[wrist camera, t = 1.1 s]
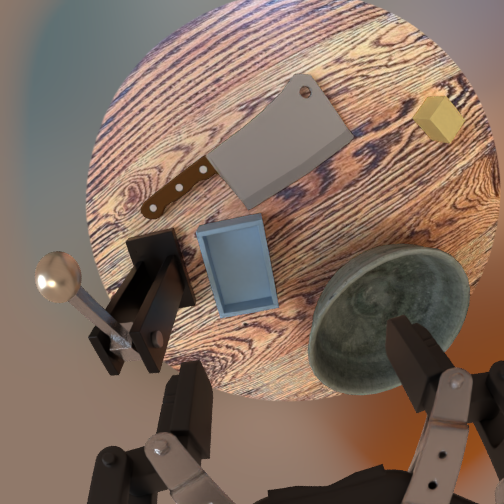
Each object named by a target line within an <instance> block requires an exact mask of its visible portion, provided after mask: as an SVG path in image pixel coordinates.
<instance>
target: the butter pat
mask: <svg viewBox="0 0 504 504" xmlns="http://www.w3.org/2000/svg"><path fill="white" fill-rule="evenodd" d="M413 120H414V121H415V122H416V123H417V124H418V125H419V126H420V127H421V128H422V130H423V131H424V132H425V133H426V134H427V135H428V136H429V138H430V139H431V140H432V141H438V142H444V143H451V142H452V140H453V139H454V137H455V136H456V134H457V133H458V131H459V129H460V128H461V126H462V125H463V123H464V122H465V120H464V118H463V117H462V116H461V114H460V113H459V112H458V110H457V109H456V108H455V107H454V105H453V104H452V103H451V102H450V100H449V99H448V98H447V97H446V96H434V97H427V99H426V100H425V102H424V103H423V104H422V106H421V107H420V109H419V110H418V111H417V113H416V114H415V115H414V117H413Z"/></svg>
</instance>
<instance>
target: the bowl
mask: <svg viewBox="0 0 504 504" xmlns="http://www.w3.org/2000/svg"><path fill="white" fill-rule="evenodd" d="M469 300H470V287H469V282H468V277H467V275H466V273H465V271H464V270H463V268H462V266H461V264H460V263H459V262H458V261H457V260H456V259H455V258H454V257H452V256H451V255H450V254H448V253H446V252H444V251H441V250H439V249H436V248H428V247H423V246H420V245H413V244H390V245H383V246H378V247H376V248H373V249H370V250H367V251H365V252H363V253H362V254H360V255H358V256H356V257H355V258H353V259H351V260H350V261H349V262H348V263H346V264H345V265H344V266H343V267H341V268H340V269H339V270H338V271H337V272H336V273H335V275H334V276H333V277H332V278H331V279H330V281H329V282H328V283H327V285H326V287H325V289H324V290H323V292H322V294H321V296H320V298H319V300H318V303H317V306H316V308H315V311H314V315H313V322H312V328H311V332H310V338H309V344H308V356H309V364H310V366H311V368H312V370H313V372H314V374H315V376H316V377H317V378H318V379H319V380H320V381H321V382H322V383H323V384H324V385H326V386H327V387H329V388H331V389H333V390H334V391H337V392H341V393H345V394H351V395H366V394H376V393H379V392H383V391H387V390H390V389H392V388H395V387H397V386H400V385H402V384H401V382H400V380H399V378H398V376H397V374H396V372H395V370H394V368H393V367H392V365H391V363H390V361H389V359H388V357H387V354H386V349H385V342H386V328H387V320H388V319H391V318H394V317H398V316H401V315H405V316H406V317H407V318H408V320H409V321H410V322H411V324H414V323H419V324H420V325H422V326H424V327H425V328H427V330H428V331H429V332H430V334H431V335H432V337H433V338H434V339H435V340H436V342H437V344H439V346H440V347H441V348H442V350H443V351H444V352H445V351H446V350H447V349H448V348H449V347H450V345H451V344H452V343H453V341H454V339H455V338H456V336H457V335H458V333H459V332H460V329H461V327H462V325H463V322H464V320H465V318H466V314H467V311H468V307H469Z"/></svg>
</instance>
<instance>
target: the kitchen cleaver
mask: <svg viewBox="0 0 504 504" xmlns="http://www.w3.org/2000/svg"><path fill="white" fill-rule="evenodd" d="M302 86H305V87H307V88H309V89H310V92H311V94H310V96H309V97H308V98H303V97H302V96H301V95H300V88H301V87H302ZM353 138H354V136H353V135H352V133H351V132H350V131H349V129H348V128H347V127H346V125H345V124H344V122H343V121H342V119H341V118H340V116H339V114H338V113H337V112H336V110H335V109H334V107H333V106H332V104H331V103H330V101H329V100H328V98H327V97H326V96H325V94H324V93H323V91H322V90H321V89H320V87H319V86H318V84H317V83H316V82H315V80H314V79H313V78H312V76H311V75H307V74H294V75H293V77H292V78H291V79H290V81H289V82H288V83H287V85H286V86H285V88H284V89H283V90H282V92H281V93H280V94H279V95H278V96H277V97H276V98H275V99H274V100H273V101H272V102H271V103H270V104H269V105H268V106H267V107H266V108H265V109H264V110H263V111H262V112H261V113H260V114H258V115H257V116H256V117H255V118H254V119H252V120H251V121H250V122H249V123H248V124H246V125H245V126H244V127H243V128H242V129H240V130H239V131H238V132H236V133H235V134H234V135H232V136H231V137H229V138H228V139H227V140H225V141H224V142H223V143H221V144H220V145H219V146H217V147H216V148H215V149H214V150H212V151H211V152H210V153H208V154H207V155H206V156H203V157H202V158H200V159H199V160H197V161H196V162H195V163H193V164H192V165H191V166H189V167H188V168H187V169H185V170H184V171H183V172H182V173H180V174H179V175H178V176H176V177H175V178H174V179H172V180H171V181H170V182H169V183H167V184H166V185H165V186H164V187H162V188H161V189H160V190H159V191H157V192H156V193H155V194H154V195H152V196H151V197H150V198H149V199H148V200H146V201H145V202H144V203H143V205H142V207H141V213H142V214H143V216H144V217H145V218H148V219H157V218H159V217H160V216H161V215H162V214H163V212H164V210H165V208H166V206H167V205H169V204H170V203H171V202H174V201H176V200H178V199H179V198H181V197H182V196H183V195H185V194H186V193H187V192H189V191H190V190H191V189H192V187H193V186H194V185H195V184H196V183H198V182H199V181H201V180H206V179H209V178H210V177H211V176H213V175H214V174H219V175H220V176H221V177H222V178H223V180H224V181H225V182H226V183H227V184H228V185H229V187H230V188H231V189H232V190H233V191H234V192H235V194H236V195H237V196H238V197H239V198H240V199H241V201H242V202H243V203H244V205H245V206H246V207H247V209H248V210H250V209H252V208H253V207H255V206H257V205H258V204H260V203H261V202H263V201H265V200H266V199H268V198H269V197H271V196H273V195H274V194H276V193H277V192H279V191H281V190H282V189H284V188H285V187H287V186H288V185H290V184H292V183H293V182H295V181H296V180H298V179H300V178H301V177H303V176H304V175H306V174H308V173H309V172H310V171H312V170H313V169H314V168H316V167H317V166H318V165H320V164H321V163H322V162H324V161H325V160H326V159H328V158H329V157H330V156H332V155H333V154H334V153H336V152H337V151H338V150H340V149H341V148H342V147H344V146H345V145H346V144H348V143H349V142H350V141H351V140H352V139H353Z"/></svg>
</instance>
